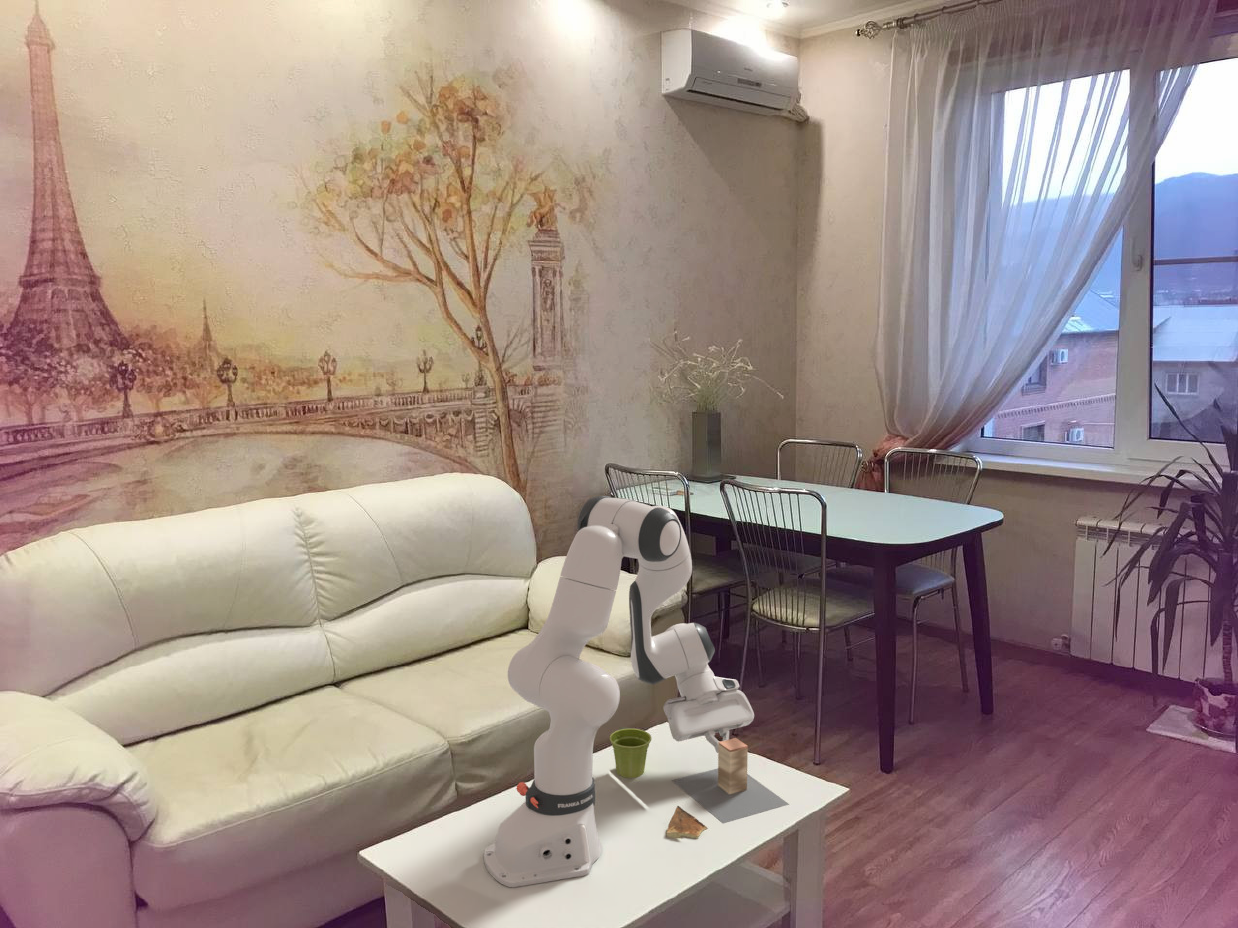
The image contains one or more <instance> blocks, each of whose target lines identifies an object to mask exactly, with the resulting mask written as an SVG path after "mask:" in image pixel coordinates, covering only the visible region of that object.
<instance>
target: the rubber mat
mask: <svg viewBox="0 0 1238 928" xmlns="http://www.w3.org/2000/svg"><path fill="white" fill-rule="evenodd" d="M671 782H673V783H674V784H675V785H677V786H678V787H679V788H680V789H681V790H682V791H683V792H685V793H686V794H687V795H688V796H689V797H691V798H692V799H693V800H695V802H697V803H698V804H699V805H701V807H702V808H704V809H705V810H706V811H707V812H709V813H710V814H711V815H712V816H714V817H715V818H716V819H717V820H718V821H719V822H721V823H722V824H726V823H730V822H733V821H736V820H739V819H743V818H747V817H750V816H754V815H757V814H760V813H764V812H767V811H771V810H774V809H778V808H781V807H784V806H788V805H790V803H789V802H787V801H786V800H784V799H783V798H782V797H780V796H779V795H777V794H776V793H774V791H772V790H771V789H769V788H768V787H766V786H765V785H764V784H762V783H761V782H759V781H758V780H756V779H755V778H754V777H753V776H751V775H750V774H748V773H747V790H744V791H740V792H737V793H733V794H728V793H727V792H726V791H725V790H723V789H722V788H721V787H719V786H718V767H717V768H715V769H710V770H706V771H702V772H699V773H695V774H692V775H687V776H683V777H682V776H681V777H679V778H675V779H671Z"/></svg>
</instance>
